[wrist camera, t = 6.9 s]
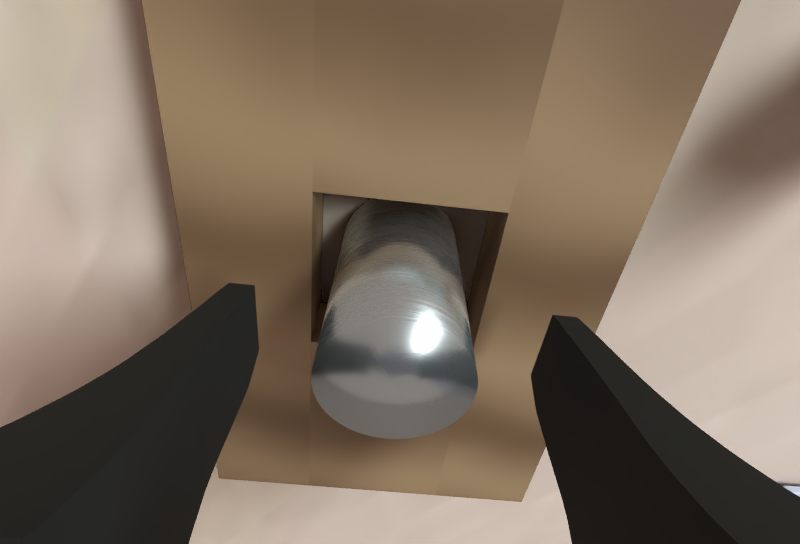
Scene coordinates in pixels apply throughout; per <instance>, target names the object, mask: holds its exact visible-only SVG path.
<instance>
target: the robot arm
mask: <svg viewBox="0 0 800 544" xmlns="http://www.w3.org/2000/svg"><path fill="white" fill-rule="evenodd" d="M258 352H259V341H258V326H257V311H256V297H255V285H248V284H237V283H228V284H227V285H225V286H224V287H223V288H221V289H220V290H219V291H217V292H216V293H215V294H214V295H212V296H211V297H210V298H209V299H207V300H206V301H205V302H204V303H203V304H201V305H200V306H199V307H198V308H196V309H195V310H194V311H193V312H191V313H190V314H189V315H188V316H186V317H185V318H184V319H182V320H181V321H180V322H179V323H177V324H176V325H175V326H173V327H172V328H171V329H169V330H168V331H167V332H166V333H164V334H163V335H162V336H160V337H159V338H157V339H156V340H154V341H153V342H152V343H150V344H149V345H147V346H146V347H144V348H143V349H142V350H140V351H139V352H137V353H136V354H134V355H133V356H132V357H130V358H129V359H127V360H126V361H124V362H122V363H121V364H119V365H118V366H116V367H115V368H113V369H111V370H110V371H108V372H107V373H105V374H103V375H101V376H100V377H98V378H96V379H95V380H93V381H91V382H89V383H88V384H86V385H84V386H83V387H81V388H79V389H77V390H75V391H73V392H72V393H70V394H68V395H66V396H64V397H62V398H60V399H58V400H56V401H54V402H52V403H50V404H48V405H46V406H44V407H42V408H40V409H38V410H36V411H34V412H32V413H30V414H28V415H26V416H24V417H22V418H20V419H18V420H16V421H14V422H12V423H10V424H7V425H5V426H3V427H1V428H0V544H189V540H190V537H191V534H192V530H193V527H194V524H195V521H196V518H197V515H198V512H199V508H200V505H201V502H202V499H203V496H204V493H205V490H206V487H207V484H208V482H209V479H210V477H211V474H212V471H213V469H214V467H215V464H216V462H217V460H218V457H219V455H220V453H221V450H222V448H223V446H224V443H225V441H226V439H227V437H228V434H229V432H230V430H231V427H232V425H233V423H234V420H235V418H236V416H237V413H238V411H239V409H240V406H241V404H242V402H243V399H244V397H245V394H246V392H247V390H248V387H249V384H250V380H251V377H252V374H253V370H254V367H255V363H256V359H257V356H258ZM531 381H532V388H533V395H534V401H535V407H536V413H537V416H538V420H539V423H540V427H541V430H542V434H543V437H544V440H545V444H546V447H547V450H548V454H549V457H550V460H551V463H552V467H553V470H554V473H555V477H556V480H557V483H558V487H559V490H560V493H561V496H562V500H563V504H564V508H565V512H566V515H567V520H568V525H569V530H570V535H571V540H572V544H800V486H781V485H780V484H778V483H776V482H775V481H773V480H772V479H770V478H769V477H767V476H766V475H764V474H763V473H761V472H760V471H758V470H757V469H755V468H754V467H752V466H751V465H749V464H748V463H746V462H745V461H743V460H742V459H741V458H739V457H738V456H736V455H735V454H733V453H732V452H731V451H729V450H728V449H726V448H725V447H724V446H722V445H721V444H720V443H718V442H717V441H716V440H714V439H713V438H712V437H710V436H709V435H708V434H707V433H705V432H704V431H703V430H701V429H700V428H699V427H697V426H696V425H695V424H693V423H692V422H691V421H690V420H688V419H687V418H686V417H685V416H684V415H682V414H681V413H680V412H679V411H678V410H676V409H675V408H674V407H673V406H672V405H671V404H669V403H668V402H667V401H666V400H665V399H664V398H662V397H661V396H660V395H659V394H658V393H657V392H656V391H654V390H653V389H652V388H651V387H650V386H649V385H648V384H647V383H646V382H644V381H643V380H642V379H641V378H640V377H639V376H638V375H637V374H636V373H635V372H634V371H633V370H632V369H631V368H630V367H629V366H628V365H626V364H625V363H624V362H623V361H622V360H621V359H620V358H619V357H618V356H617V355H616V354H615V353H614V352H613V351H612V350H611V349H610V348H609V347H608V346H607V345H606V344H605V343H604V342H603V341H602V340H601V339H600V338H599V337H598V336H597V335H596V334H595V333H594V332H593V331H592V330H591V329H590V328H588V327H587V326H586V325H585V324H584V323H583V322H582V321H581V320H580V319H579V318H577V317H570V316H560V315H552V318H551V320H550V323H549V326H548V329H547V331H546V334H545V337H544V340H543V342H542V345H541V348H540V351H539V353H538V356H537V359H536V362H535V364H534V367H533V370H532V373H531Z"/></svg>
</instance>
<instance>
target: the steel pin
mask: <svg viewBox="0 0 800 544" xmlns="http://www.w3.org/2000/svg"><path fill="white" fill-rule="evenodd" d="M311 385H312V389H313V393H314V395H315V397H316V400H317V401H318V403H319V404H320V406H321V407H322V408H323V410H324V411H325V412H326V413H327V414H328V415H329V416H330V417H331V418H333V419H334V420H335V421H337V422H338V423H340V424H341V425H343V426H345V427H347V428H348V429H351V430H353V431H355V432H358V433H361V434H364V435H368V436H372V437H377V438H384V439H408V438H416V437H421V436H425V435H429V434H432V433H435V432H437V431H440V430H442V429H444V428H446V427H448V426H449V425H451V424H452V423H454V422H455V421H457V420H458V419H459V418H460V417H461V416H462V415H464V413H465V412H466V411H467V410H468V409H469V407H470V406H471V404H472V402H473V401H474V398H475V396H476V393H477V388H478V375H477V369H476V362H475V356H474V350H473V344H472V338H471V331H470V325H469V319H468V313H467V307H466V301H465V294H464V288H463V282H462V276H461V270H460V264H459V257H458V251H457V245H456V239H455V233H454V229H453V226H452V223H451V221H450V219H449V218H448V216H447V215H446V213H445V212H444V211H443V210H442V209H441V208H440V207H439V206H438V205H430V204H421V203H412V202H403V201H393V200H384V199H375V198H372V199H370V200H368V201H367V202H365V203H363V204H362V205H361V206H360V207H359V208H358V209H357V210H356V211H355V212H354V213H353V215H352V216H351V218H350V220H349V222H348V224H347V227H346V230H345V234H344V238H343V242H342V246H341V250H340V255H339V259H338V263H337V267H336V271H335V275H334V279H333V284H332V288H331V292H330V296H329V300H328V304H327V308H326V313H325V317H324V321H323V325H322V329H321V333H320V337H319V342H318V346H317V350H316V354H315V358H314V362H313V367H312V372H311Z"/></svg>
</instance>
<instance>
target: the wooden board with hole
mask: <svg viewBox="0 0 800 544" xmlns="http://www.w3.org/2000/svg"><path fill="white" fill-rule="evenodd" d="M740 2H741V0H142V6H143V12H144V18H145V24H146V31H147V37H148V43H149V49H150V55H151V62H152V68H153V74H154V80H155V86H156V92H157V99H158V105H159V111H160V117H161V123H162V129H163V136H164V142H165V148H166V154H167V160H168V166H169V173H170V179H171V185H172V191H173V197H174V203H175V210H176V216H177V222H178V228H179V234H180V241H181V247H182V253H183V259H184V265H185V271H186V278H187V284H188V290H189V296H190V302H191V308H192V312H193V311H194V310H195V309H196V308H198V307H199V306H200V305H201V304H203V303H204V302H205V301H206V300H207V299H209V298H210V297H211V296H212V295H214V294H215V293H216V292H217V291H219V290H220V289H221V288H223V287H224V286H225V285H227V284H228V283H237V284H248V285H255V297H256V311H257V326H258V341H259V352H258V356H257V359H256V363H255V367H254V370H253V374H252V377H251V380H250V384H249V387H248V390H247V392H246V394H245V397H244V399H243V402H242V404H241V406H240V409H239V411H238V413H237V416H236V418H235V420H234V423H233V425H232V427H231V430H230V432H229V434H228V437H227V439H226V441H225V443H224V446H223V448H222V450H221V453H220V455H219V457H218V460H217V462H216V463H217V469H218V475H219V478H222V479H235V480H248V481H260V482H273V483H286V484H299V485H312V486H325V487H337V488H350V489H363V490H376V491H389V492H402V493H415V494H427V495H440V496H453V497H466V498H479V499H492V500H504V501H517V502H522V499H523V497H524V495H525V493H526V490H527V488H528V486H529V483H530V481H531V479H532V477H533V474H534V472H535V470H536V467H537V465H538V463H539V461H540V458H541V456H542V454H543V451H544V449H545V447H546V444H545V440H544V437H543V434H542V430H541V427H540V423H539V420H538V416H537V413H536V407H535V401H534V395H533V388H532V381H531V373H532V370H533V367H534V364H535V362H536V359H537V356H538V353H539V351H540V348H541V345H542V342H543V340H544V337H545V334H546V331H547V329H548V326H549V323H550V320H551V318H552V315H560V316H570V317H577V318H579V319H580V320H581V321H582V322H583V323H584V324H585V325H586V326H587V327H588V328H590V329H591V330H592V331H593V332H594V333H596V330H597V328H598V326H599V324H600V321H601V319H602V317H603V314H604V312H605V310H606V308H607V305H608V303H609V301H610V298H611V296H612V294H613V292H614V289H615V287H616V285H617V282H618V280H619V278H620V276H621V273H622V271H623V269H624V266H625V264H626V262H627V260H628V257H629V255H630V253H631V251H632V248H633V246H634V244H635V241H636V239H637V237H638V235H639V232H640V230H641V228H642V225H643V223H644V221H645V219H646V216H647V214H648V212H649V209H650V207H651V205H652V203H653V200H654V198H655V196H656V193H657V191H658V189H659V187H660V184H661V182H662V180H663V177H664V175H665V173H666V171H667V168H668V166H669V164H670V161H671V159H672V157H673V155H674V152H675V150H676V148H677V145H678V143H679V141H680V139H681V136H682V134H683V132H684V129H685V127H686V125H687V123H688V120H689V118H690V116H691V113H692V111H693V109H694V107H695V104H696V102H697V100H698V98H699V95H700V93H701V91H702V88H703V86H704V84H705V82H706V79H707V77H708V75H709V72H710V70H711V68H712V66H713V63H714V61H715V59H716V56H717V54H718V52H719V50H720V47H721V45H722V43H723V40H724V38H725V36H726V34H727V31H728V29H729V27H730V24H731V22H732V20H733V18H734V15H735V13H736V11H737V8H738V6H739V4H740ZM323 193H328V194H338V195H347V196H356V197H365V198H375V199H384V200H393V201H403V202H412V203H421V204H430V205H440V206H449V207H458V208H467V209H477V210H486V211H490V213H489V217H488V221H487V225H486V229H485V234H484V238H483V242H482V246H481V251H480V255H479V259H478V263H477V268H476V272H475V276H474V280H473V284H472V289H471V293H470V297H469V301H468V306H467V313H468V319H469V325H470V331H471V338H472V344H473V350H474V356H475V362H476V369H477V375H478V388H477V393H476V396H475V398H474V401H473V402H472V404H471V406H470V407H469V409H468V410H467V411H466V412H465V413H464V415H462V416H461V417H460V418H459V419H458V420H457V421H455V422H454V423H452V424H451V425H449V426H448V427H446V428H444V429H442V430H440V431H437V432H435V433H432V434H429V435H425V436H421V437H416V438H408V439H384V438H377V437H372V436H368V435H364V434H361V433H358V432H355V431H353V430H351V429H348V428H347V427H345V426H343V425H341V424H340V423H338V422H337V421H335V420H334V419H333V418H331V417H330V416H329V415H328V414H327V413H326V412H325V411H324V410H323V408H322V407H321V406H320V404H319V403H318V401H317V400H316V397H315V395H314V393H313V389H312V385H311V372H312V367H313V362H314V358H315V354H316V350H317V346H318V342H319V337H320V333H321V329H322V325H323V321H324V317H325V313H326V308H327V304H328V303H321V271H322V231H323Z"/></svg>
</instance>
